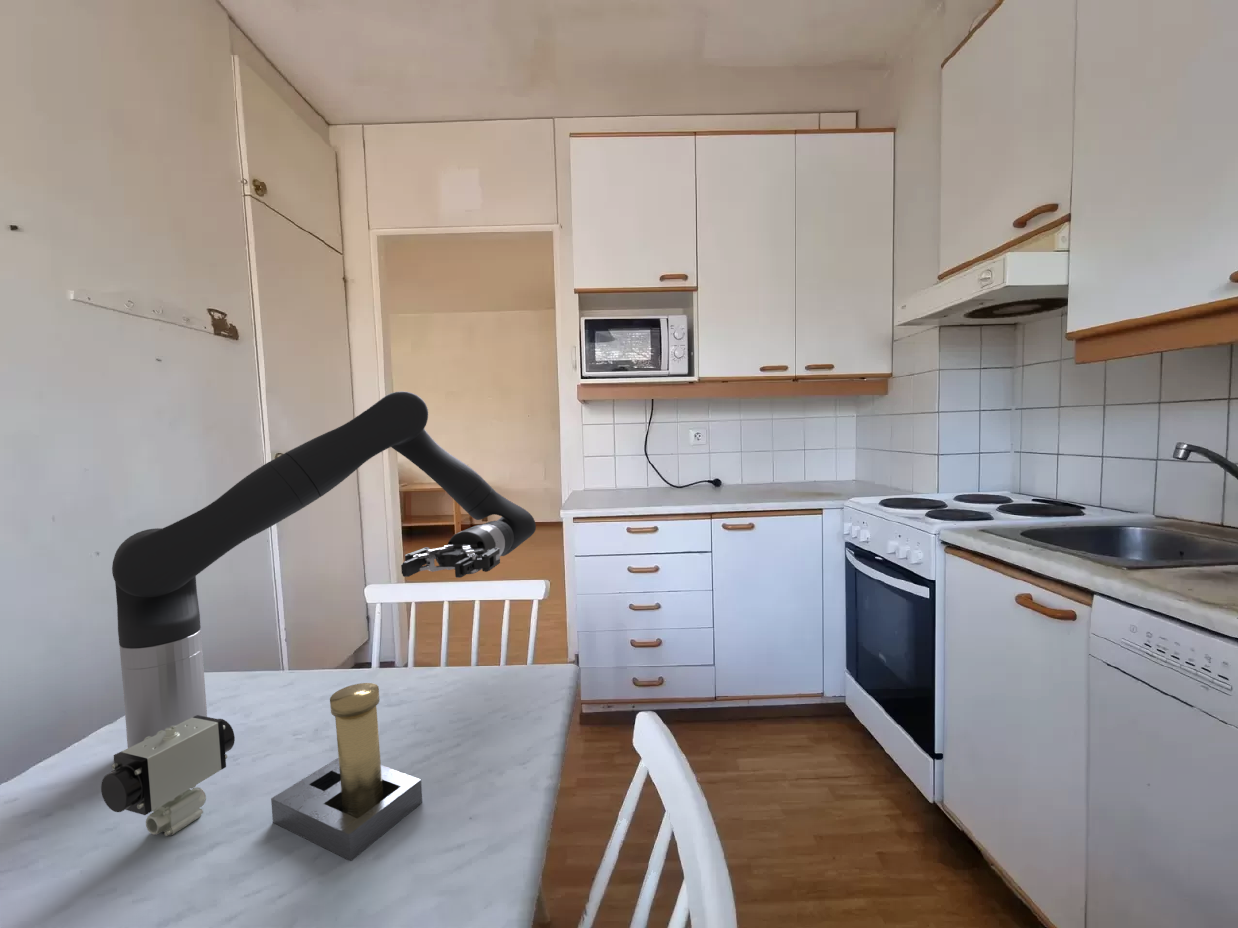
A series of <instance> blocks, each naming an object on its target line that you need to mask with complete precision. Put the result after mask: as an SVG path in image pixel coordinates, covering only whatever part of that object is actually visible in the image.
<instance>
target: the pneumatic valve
mask: <svg viewBox="0 0 1238 928" xmlns="http://www.w3.org/2000/svg"><path fill="white" fill-rule="evenodd" d="M235 738H236V737H235V732H234V729H233V727H232V725H231V724H230V723H229V722H228V721H227V720H225V719H223V718H214V717H209V716H207V717H205V716H199V715H196V716H194V717H192V718H190V719H188V720H186V721H184V722H182V723H180V724H178V725H176V726H170V728H166V729H165V731H163V730H161V731H159V732H158V733H157V735H155V736H153V737H151V736H148V737H146V738H145V739H144V741H142V742H140V743H138V744H136V745H134V746H132V747H130V748H128V747H127V748H126V749H123V750H121V751H120V752H117V753H115V754H114V755H113V764H112V765H111V769H112V770H111V772H109V773H107V774H106V775H104V777H103V778H102V781H101V786H100V788H101V790H100V791H101V795H102V799H103V801H104V803H105V805H106V806H107V807H108V809H110V810H111V811H112V812H115V813H121V812H123V811H128V812H131V813H136V814H139V815H143V816H146V815H148V814H149V815H148V816H147V817H146V819H145V828H146V830H147V831H148V832H149V834H151V835H153V836H154V835H156V836H157V835H160V834H161V833H163V834H164V836H165V837H168V836H173V835H175V834H176V833H178V832H179V831H181V830H183V829H184V828H186V827H188V826H189V825H190V824H191V823H193V822H195V821H196V820H197V819H200V818H201V817H202V814H203V813H204V810H203V809H202V807H204V805H205V803H206V801H207V796H206V793H205V791H204V789H202V788H201V787H197V785H199V784H201V783H202V782H204V781H205V780H207V779H209V778H210V777H212V776H214V775H215V774H217V773H219V772H220V771H222V770H224V769H225V768H227V758H228V754H226V753H228V752H230V751H231V750H232V749H233V747H234V745H235Z"/></svg>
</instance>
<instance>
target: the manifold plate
mask: <svg viewBox="0 0 1238 928" xmlns="http://www.w3.org/2000/svg"><path fill="white" fill-rule="evenodd" d="M381 773H382V786H383V800H382V801H381V802H379V803H378V804H377V805H375V806H374V807H373V808H371V809H370V810H369V811H367V812H366V813H365V814H363V815H362V816H361V817H359V818H358V819H357V818H355V817H352V816H350V815H348V814H346V813H343V806H342V794H341V781H340V769H339V757H336V758H335V759H333V760H332V761H330V762H329V763H327V764H325V765H324V766H323V767H321V768H319V769H317V770H316V771H314V772H312V773H311V774H308V775H307V776H306V777H304V778H303V779H301V780H299V781H297V782H296V783H294V784H293V785H290V786H289V787H288V788H286V789H285V790H283V791H281V792H279V793H278V794H276V795H274V796H273V797H271V798H270V799H271V812H272V813H271V815H272V823H273V824H275V825H277V826H279V827H281V828H282V829H285V830H287V831H289V832H291V833H293V834H295V835H298V836H299V837H301V838H302V839H304V840H308V841H310V842H311V843H313V844H316V845H318V846H319V847H321V848H323V849H325V850H328V851H329V852H331V853H334V854H335V855H336V856H337V855H338V856H340V857H342V858H344V859H345V860H348V861H350V862H351V861H353V859H355V858H356V857H357V856H359V854H361V853H362V852H364V851H365V850H366V849H367V848H368V847H370V846H371V845H372V844H373V843H375V842H376V841H377V840H378V839H379V838H381V837H382V836H383V835H384V834H385V833H387V832H388V831H389V830H390V829H392V828H393V827H395V826H396V825H397V824H398V823H399V822H400V821H401V820H403V819H404V818H406V817H407V815H409V814H410V813H411V812H412V811H414V810H415V809H417V807H419V806H420V805H421V804H422V803H423V793H422V791H423V789H422V779H421V778H418V777H417V776H416V777H415V776H414V775H409V774H408V773H404V772H401V771H399V770H396V769H393V768H390V767H389V766H385V765H383V764H381Z"/></svg>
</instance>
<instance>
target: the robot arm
mask: <svg viewBox="0 0 1238 928" xmlns="http://www.w3.org/2000/svg"><path fill="white" fill-rule="evenodd" d="M428 419H429V409H428V405H427V403H426V401H424V400H423V398H421V396H419V395H417V394H415V393H413V392H409V391H393V392H390V393H388V394H386V395H385V396H383V397H382V398H380V400H378V401H377V402H376V403H373V404H372V405H371V406H370V407H369V408H367V409H366V410H364V411H363V412H362V413H360V414H359V415H357V416H355V417H354V418H352V419H351V420H349V421H347V422H346V423H344V424H342V425H340V426H338V427H336V428H333V429H331V430H329V431H327V432H325V433H322V434H320V435H318V436H316V437H315V438H312V439H310V440H308V441H305V442H304V443H302V444H300V445H299V446H296V447H294V448H292V449H290V450H288V451H286V452H284V453H282V454H281V455H279V456H277V457H276V458H273V459H271V460H270V461H268V462H266V463H265V464H263V465H261V466H260V467H258V468H256V469H255V470H254V471H252V472H251V473H249V474H248V475H246V476H245V477H243V478H242V479H241V480H240V481H238V482H237V483H235V485H233V486H232V487H231V488H229V489H228V490H227V491H226V492H224V493H223V494H222V495H220V497H218V498H217V499H215V500H214V501H212V502H210V504H208V505H206V506H204V507H203V508H201V509H200V510H197V511H196V512H194V513H192V514H189V515H188V516H186V517H183V518H182V519H179V520H177V521H176V522H173V523H171V524H169V525H166V526H164V527H163V528H162V527H161V528H158V527H157V528H150V529H144V530H141V531H139V532H136V533H133V534H132V535H130V536H129V537H128V538H126V539H125V540H124V541H123V542H122V543H121V544H120V545H119V547H118V548H117V550H116V551H115V553H114V556H113V560H112V564H111V565H112V568H111V571H112V573H111V574H112V577H113V580H114V583H115V584H114V586H115V595H116V606H117V607H116V608H117V609H116V611H117V613H116V614H117V615H116V616H117V634H118V646H119V656H120V658H119V659H120V666H121V679H122V680H121V681H122V691H123V693H122V694H123V706H124V716H125V717H124V718H125V728H126V729H125V730H126V744H127V749H128V748H130V747H132V746H134V745H136V744H138V743H140V742H142V741H144V739H145V738H146V737H148V736H151V737H153V736H155V735H157V733H158V732H159V731H161V730H163V731H165V729H166V728H170V726H176V725H178V724H180V723H182V722H184V721H186V720H188V719H190V718H192V717H194V716H196V715H199V716H205V717H208V708H207V694H206V681H205V669H204V665H205V664H204V655H203V641H202V630H201V628H202V627H201V613H200V606H199V598H198V589H197V576H198V575H199V574H200V573H201V572H203V571H205V569H207V568H208V567H209V566H211V565H212V564H214V563H215V562H217V560H219V559H220V558H221V557H223V556H224V555H226V554H227V553H228V552H230V551H231V550H232V549H235V548H236V547H237V546H239V545H240V544H241V543H243V542H245V541H247V540H248V539H250V538H252V537H254V536H256V535H257V534H260V533H262V532H263V531H265V530H267V529H269V528H271V527H273V526H274V525H277V524H278V523H280V522H282V521H283V520H284V519H287V518H288V517H290V516H292V515H294V514H295V513H298V512H300V511H301V510H303V509H304V508H306V507H308V506H309V505H311V504H312V503H313V502H316V500H318V499H320V498H322V497H323V496H324V495H326V494H327V493H329V492H330V491H332V490H334V488H335V487H337V486H339V485H340V484H341V483H342V482H344V480H346V479H348V477H349V476H350V475H352V474H353V473H354V472H355V471H357V470H358V469H359V468H360V467H361V466H362V465H363V464H365V463H366V462H368V461H369V460H371V459H372V458H373V457H375V456H376V455H379V454H380V453H383V452H384V451H386V450H388V449H389V448H392V449H393V450H394V451H396V452H397V453H398V454H400V455H401V456H403V457H405V458H406V459H408V460H409V462H411V463H412V464H414V465H415V466H416V467H418V468H419V470H421V471H422V472H423V473H425V474H426V475H427V477H429V478H430V479H432V480H433V481H434V482H435V483H436V484H437V485H438V486H439V487H440V488H442V490H444V491H445V493H447V495H449V496H450V497H451V498H452V499H453V500H454V501H455V502H456V504H458V505H459V507H461V508H462V509H463V510H464V511H465V512H466V513H467V514H468V515H469V516H470V517H471V518H472V519H474V520H476V521H480V520H483V519H485V518H488V517H490V516H495V515H496V516H499V518H498V519H497V520H491V521H488V522H486V523H483V524H477V525H474V526H472V527H469V528H467V529H464V530H461V531H459V532H456V533H455V534H454V535H452V536H451V538H450V539H449V540H448V542H447V544H446V545H443V546H442V547H437V548H430V547H428V546H426V547H423V548H421V549H418V550H415V551H412V552H409V553H407V554H406V553H405V555H404V562H403V563H401V566H400V568H401V574H402V577H403V578H404V577H405V578H406V577H407V578H408V577H410V576H411V577H412V576H413V575H415V574H417V573H419V572H422V571H429V572H432V573H433V572H438V571H442V570H448V571H451V570H454V575H455V578H457V579H458V578H460V579H461V578H463V577H465V576H467V575H473V574H475V573H478V572H479V571H481V570H482V572H484V573H487V572H489V571H491V570H493V569H495V567H497V566H499V564H501V557H505V556H507V555H509V554H510V553H512V552H513V551H515V549H517V548H518V547H520V546H521V545H522V544H523V543H524V542H526V541H527V540H528V539H529V538H531V537H532V536H533V535H534V533H535V532H536V529H537V528H536V527H537V525H536V520H535V518H534V517H533V515H532V514H531V513H530V512H529V511H527V510H526V509H525V508H524V507H521V506H520V505H518V504H516V503H514V502H512V501H511V500H509V499H507V498H506V497H504V496H503V495H501V494H500V493H498V492H497V491H496V490H495V489H494V488H492V487H493V486H491V485H490V484H489V483H488V482H487V481H486V480H485V479H484V478H483V477H482V476H481V475H480V474H479V473H477V471H476V470H474V469H473V468H471V467H470V466H469V465H468V464H466V463H465V462H463V461H462V460H460V459H458V458H457V457H455V456H454V455H452V454H451V453H450V452H448V451H447V450H445V449H444V448H443V447H442V446H441V445H439V444H438V443H437V442H436V441H435V440H434V439H433V437H431V435H430V434H429V433H428V432H427V430H426V429H425V428H426V426H427V423H428ZM435 562H436V563H437V564H438V565H435Z"/></svg>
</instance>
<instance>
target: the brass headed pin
mask: <svg viewBox="0 0 1238 928" xmlns="http://www.w3.org/2000/svg"><path fill="white" fill-rule="evenodd" d="M379 703H380V688H379V686H378V685H377V684H376V683H374V682H361V683H355V684H351V685H347V686H346V687H343V688H341V689H339V690H337V691H335V692H334V693H333V694H332V695H331V696H330V698H329V704H330V705H329V706H330V714H331V715H332V716H333V717H335V718H334V719H335V728H336V729H335V731H336V741H337V742H336V743H337V755H338V756H337V758H339V769H340V781H341V794H342V806H343V813H346V814H348V815H350V816H352V817H355V818H357V819H358V818H359V817H361V816H362V815H363V814H365V813H366V812H367V811H369V810H370V809H371V808H373V807H374V806H375V805H377V804H378V803H379V802H381V801H382V800H383V786H382V773H381V765H382V764H381V763H382V762H381V761H382V760H381V751H380V738H379V736H380V735H379V721H378V710H377V709H378V708H377V705H378V704H379Z"/></svg>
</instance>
